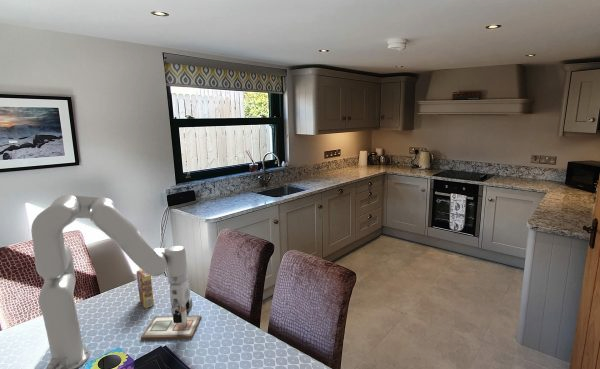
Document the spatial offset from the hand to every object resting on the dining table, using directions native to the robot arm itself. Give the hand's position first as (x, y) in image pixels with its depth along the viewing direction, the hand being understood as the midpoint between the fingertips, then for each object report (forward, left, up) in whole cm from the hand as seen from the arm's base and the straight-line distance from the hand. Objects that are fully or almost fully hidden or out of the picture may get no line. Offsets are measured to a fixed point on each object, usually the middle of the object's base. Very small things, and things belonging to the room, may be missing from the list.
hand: (181, 315), depth 142 cm
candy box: (+20, +23, -6) cm, 31 cm away
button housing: (+14, +4, -6) cm, 16 cm away
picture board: (0, +4, -6) cm, 7 cm away
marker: (0, 0, -5) cm, 5 cm away
